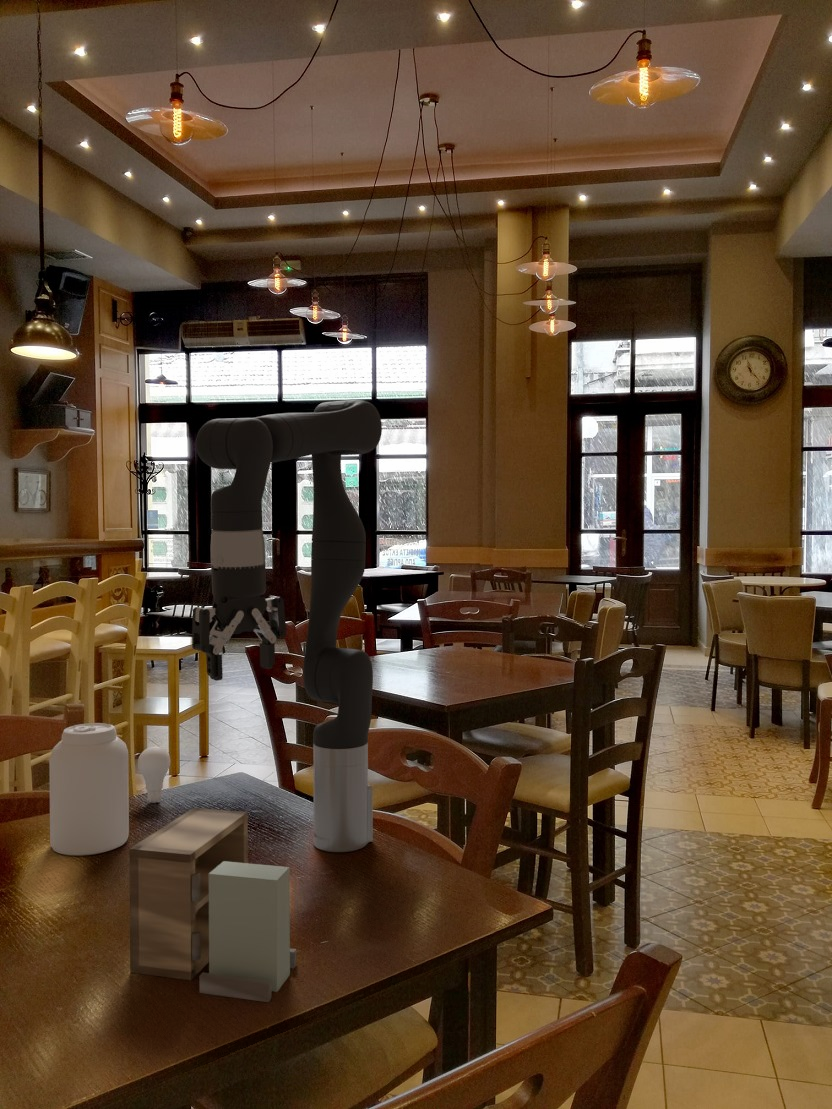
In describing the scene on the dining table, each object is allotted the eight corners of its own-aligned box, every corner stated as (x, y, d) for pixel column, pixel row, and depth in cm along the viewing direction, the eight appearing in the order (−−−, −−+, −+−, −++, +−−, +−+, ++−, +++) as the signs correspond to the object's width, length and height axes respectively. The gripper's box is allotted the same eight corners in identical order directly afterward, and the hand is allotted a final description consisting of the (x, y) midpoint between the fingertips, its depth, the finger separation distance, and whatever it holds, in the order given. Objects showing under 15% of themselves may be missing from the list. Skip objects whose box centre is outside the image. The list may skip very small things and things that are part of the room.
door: (227, 962, 107) (227, 858, 107) (292, 970, 105) (292, 864, 105) (209, 983, 102) (208, 873, 102) (277, 991, 100) (276, 880, 100)
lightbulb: (177, 800, 172) (176, 744, 172) (155, 809, 166) (155, 752, 166) (153, 796, 174) (152, 741, 174) (131, 805, 169) (130, 748, 169)
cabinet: (194, 915, 120) (193, 807, 120) (323, 930, 116) (322, 818, 116) (119, 981, 103) (118, 855, 102) (268, 1002, 98) (268, 870, 98)
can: (50, 862, 140) (49, 738, 139) (49, 837, 151) (48, 722, 151) (132, 850, 145) (131, 731, 144) (125, 827, 156) (124, 716, 156)
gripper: (264, 554, 131) (267, 660, 132) (179, 564, 120) (183, 678, 122) (295, 558, 125) (297, 669, 127) (208, 568, 115) (213, 688, 117)
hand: (241, 673), depth 125 cm, fingers open, 8 cm apart
